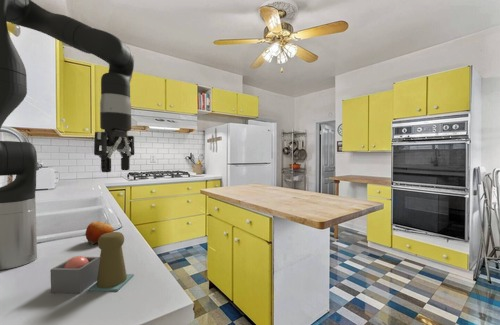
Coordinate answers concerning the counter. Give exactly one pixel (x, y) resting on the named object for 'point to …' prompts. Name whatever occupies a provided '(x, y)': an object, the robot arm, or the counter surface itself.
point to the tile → (115, 288)
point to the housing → (74, 277)
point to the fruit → (97, 231)
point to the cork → (111, 260)
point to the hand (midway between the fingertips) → (116, 171)
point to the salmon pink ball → (76, 262)
